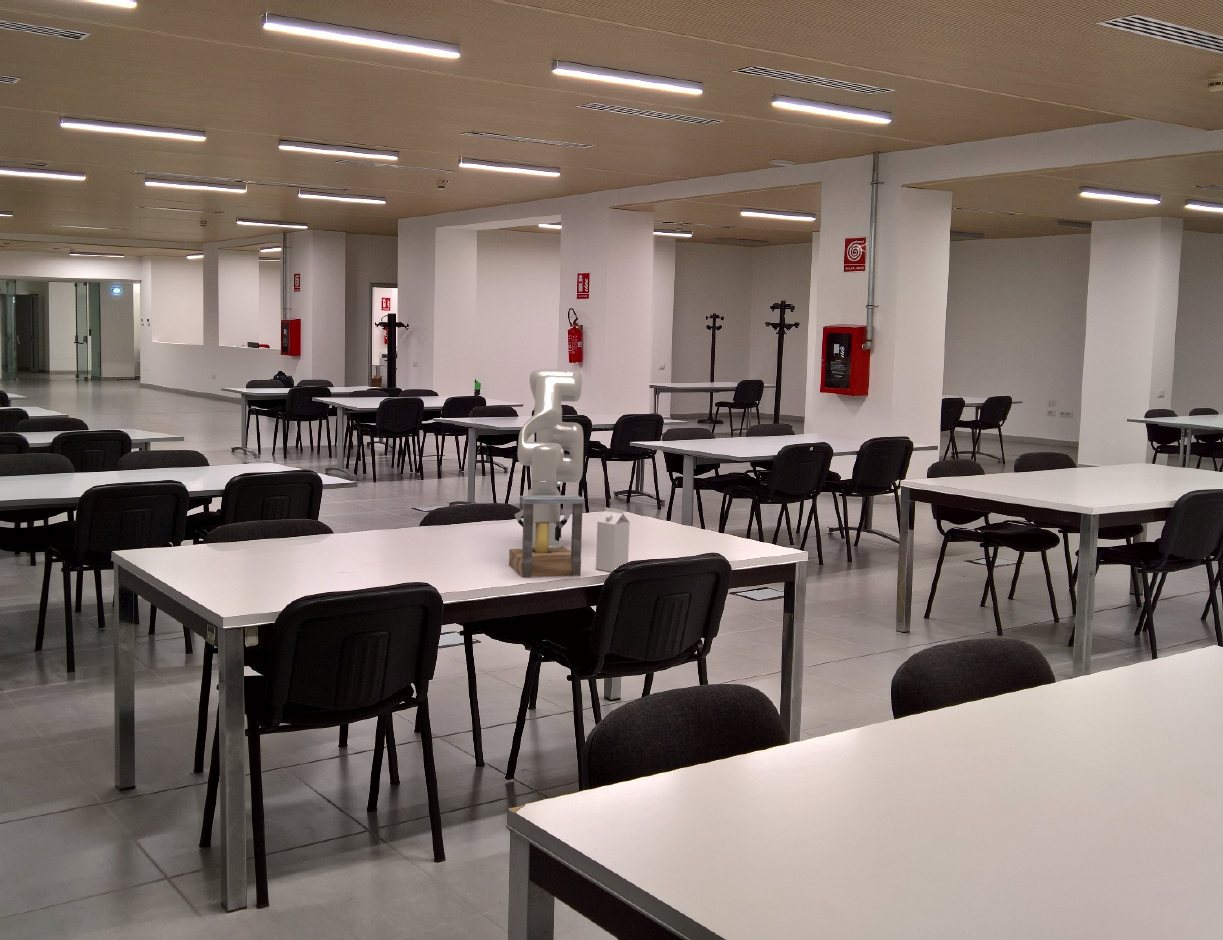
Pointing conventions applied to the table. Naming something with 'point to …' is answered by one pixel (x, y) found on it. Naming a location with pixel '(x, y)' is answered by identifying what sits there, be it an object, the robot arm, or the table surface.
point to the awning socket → (556, 558)
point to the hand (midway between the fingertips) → (541, 540)
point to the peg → (542, 538)
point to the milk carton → (612, 540)
